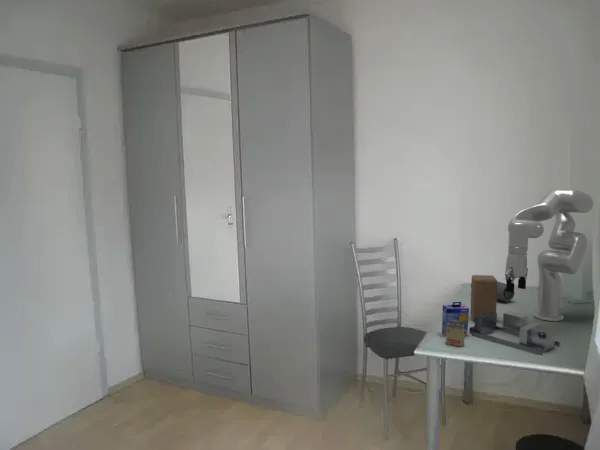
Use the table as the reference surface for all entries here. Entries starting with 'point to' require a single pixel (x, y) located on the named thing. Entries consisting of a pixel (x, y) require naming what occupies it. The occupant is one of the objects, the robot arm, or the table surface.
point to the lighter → (455, 333)
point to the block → (483, 295)
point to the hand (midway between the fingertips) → (515, 290)
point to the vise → (488, 324)
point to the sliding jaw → (536, 337)
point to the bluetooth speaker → (503, 292)
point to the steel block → (514, 320)
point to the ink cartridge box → (455, 316)
